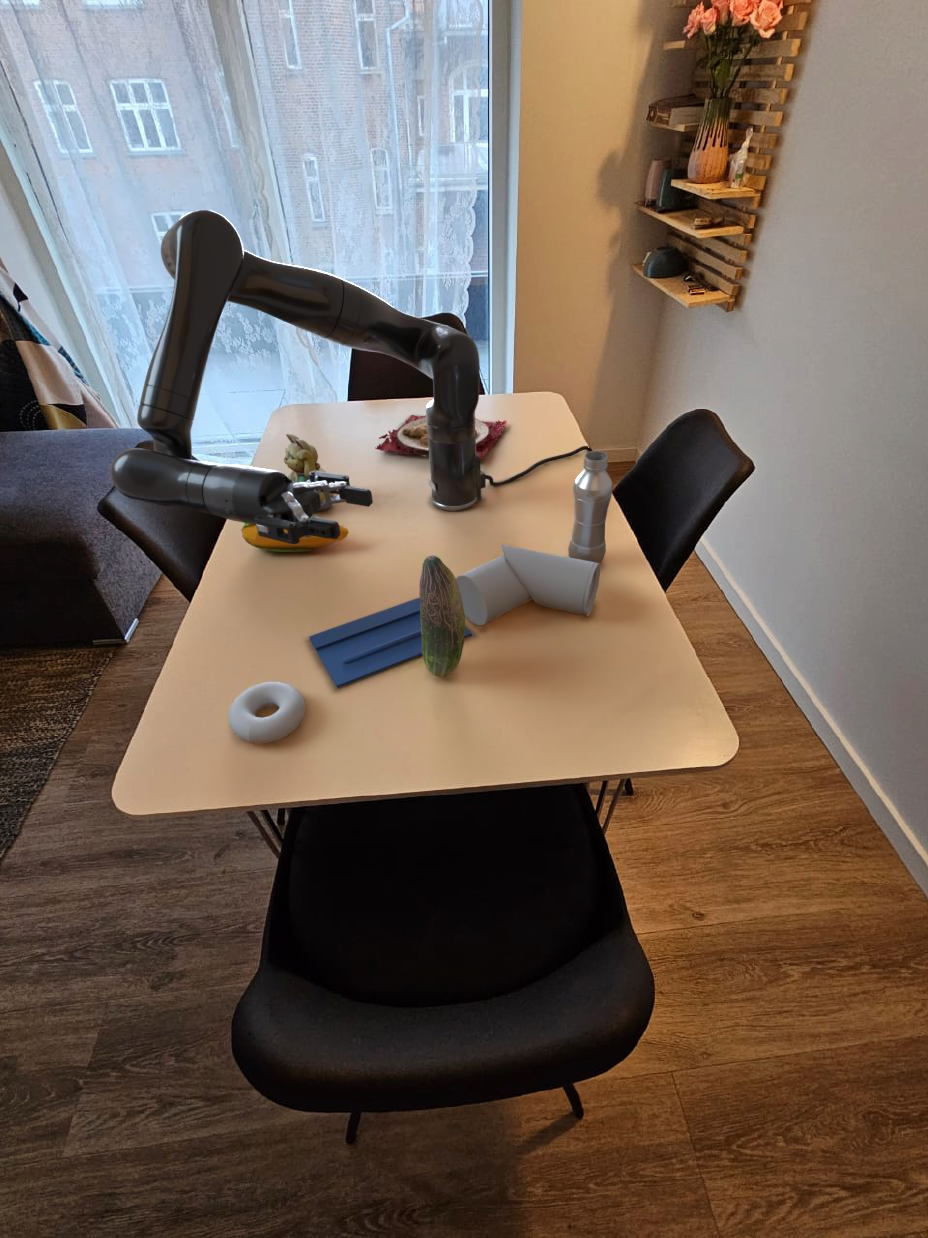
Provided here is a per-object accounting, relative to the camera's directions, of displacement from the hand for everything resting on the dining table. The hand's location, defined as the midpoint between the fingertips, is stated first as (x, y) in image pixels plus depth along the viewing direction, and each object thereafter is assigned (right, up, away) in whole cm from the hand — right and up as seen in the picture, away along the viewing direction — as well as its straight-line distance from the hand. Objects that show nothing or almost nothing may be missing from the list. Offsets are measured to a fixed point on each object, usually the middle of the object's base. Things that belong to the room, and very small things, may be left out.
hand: (355, 513), depth 82 cm
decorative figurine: (-17, +10, +52) cm, 56 cm away
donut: (-12, -27, +6) cm, 30 cm away
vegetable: (+11, -21, +12) cm, 27 cm away
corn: (-17, 0, +39) cm, 43 cm away
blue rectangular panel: (+2, -16, +18) cm, 24 cm away
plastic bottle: (+35, -3, +32) cm, 48 cm away
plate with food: (+9, +30, +75) cm, 81 cm away
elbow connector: (+25, -12, +23) cm, 36 cm away
